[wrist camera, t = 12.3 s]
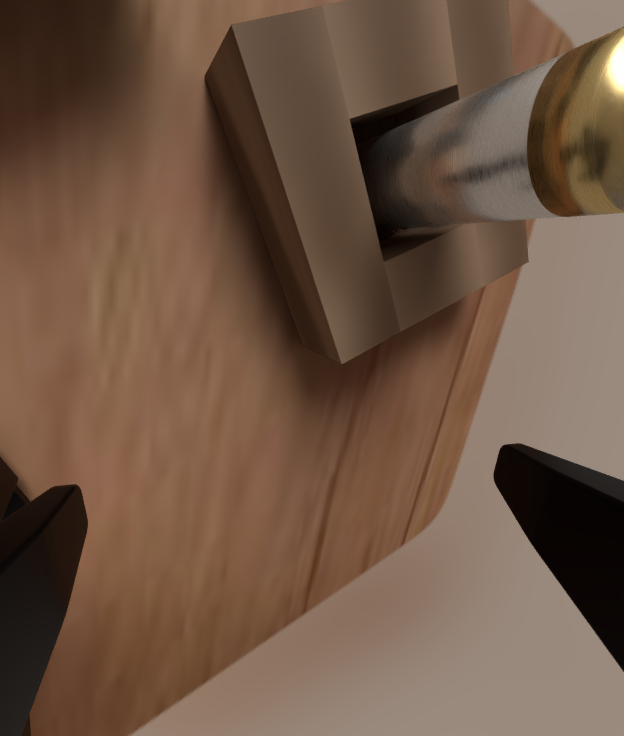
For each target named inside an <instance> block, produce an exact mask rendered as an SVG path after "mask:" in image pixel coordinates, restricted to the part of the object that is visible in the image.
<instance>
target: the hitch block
mask: <svg viewBox="0 0 624 736" xmlns="http://www.w3.org/2000/svg"><path fill="white" fill-rule="evenodd" d="M513 76H514V69H513V56H512V43H511V31H510V18H509V5H508V0H348V1H343V2H338V3H333V4H329V5H324V6H319V7H314V8H309V9H305V10H300V11H295V12H290V13H285V14H280V15H276V16H271V17H266V18H261V19H256V20H251V21H247V22H242V23H237V24H232V25H231V26H230V28H229V30H228V32H227V34H226V36H225V38H224V40H223V42H222V44H221V46H220V47H219V49H218V51H217V53H216V55H215V57H214V59H213V61H212V63H211V65H210V67H209V69H208V70H207V72H206V74H205V79H206V82H207V84H208V87H209V90H210V93H211V95H212V98H213V101H214V104H215V106H216V109H217V112H218V115H219V117H220V120H221V123H222V125H223V128H224V131H225V134H226V136H227V139H228V142H229V145H230V147H231V150H232V153H233V156H234V158H235V161H236V164H237V167H238V169H239V172H240V175H241V177H242V180H243V183H244V186H245V188H246V191H247V194H248V197H249V199H250V202H251V205H252V208H253V210H254V213H255V216H256V219H257V221H258V224H259V227H260V229H261V232H262V235H263V238H264V240H265V243H266V246H267V249H268V251H269V254H270V257H271V260H272V262H273V265H274V268H275V271H276V273H277V276H278V279H279V281H280V284H281V287H282V290H283V292H284V295H285V298H286V301H287V303H288V306H289V309H290V312H291V314H292V317H293V320H294V323H295V325H296V328H297V331H298V333H299V336H300V339H301V342H302V344H303V346H305V347H307V348H309V349H311V350H314V351H316V352H318V353H320V354H322V355H324V356H326V357H328V358H330V359H332V360H334V361H336V362H338V363H340V364H344V363H345V362H347V361H349V360H351V359H353V358H355V357H356V356H358V355H360V354H362V353H364V352H365V351H367V350H369V349H371V348H373V347H375V346H376V345H378V344H380V343H382V342H384V341H385V340H387V339H389V338H391V337H393V336H395V335H396V334H398V333H400V332H402V331H404V330H405V329H407V328H409V327H411V326H413V325H415V324H416V323H418V322H420V321H422V320H424V319H425V318H427V317H429V316H431V315H433V314H435V313H436V312H438V311H440V310H442V309H444V308H446V307H447V306H449V305H451V304H453V303H455V302H456V301H458V300H460V299H462V298H464V297H466V296H467V295H469V294H471V293H473V292H475V291H476V290H478V289H480V288H482V287H484V286H486V285H487V284H489V283H491V282H493V281H495V280H496V279H498V278H500V277H502V276H504V275H506V274H507V273H509V272H511V271H513V270H515V269H516V268H518V267H520V266H522V265H524V264H525V263H527V262H529V261H528V248H527V235H526V223H525V219H524V220H511V221H498V222H485V223H472V224H459V225H446V226H432V227H419V228H408V229H406V230H404V231H401V232H399V233H397V234H395V235H393V236H390V237H388V238H386V239H384V240H381V241H379V240H378V236H377V232H376V227H375V223H374V219H373V215H372V211H371V207H370V202H369V198H368V194H367V190H366V186H365V182H364V177H363V173H362V169H361V165H360V161H359V157H358V152H357V148H356V144H355V140H354V136H353V132H352V129H353V128H356V127H359V126H362V125H365V124H368V123H371V122H374V121H377V120H380V119H383V118H386V117H389V116H392V115H395V114H396V119H397V125H398V127H399V126H401V125H403V124H406V123H408V122H410V121H413V120H415V119H417V118H419V117H422V116H424V115H426V114H428V113H431V112H433V111H435V110H438V109H440V108H442V107H444V106H447V105H449V104H451V103H454V102H456V101H458V100H460V99H463V98H465V97H467V96H469V95H472V94H474V93H476V92H479V91H481V90H483V89H485V88H488V87H490V86H492V85H494V84H497V83H499V82H501V81H504V80H506V79H508V78H510V77H513Z"/></svg>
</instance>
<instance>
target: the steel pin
mask: <svg viewBox="0 0 624 736" xmlns="http://www.w3.org/2000/svg"><path fill="white" fill-rule="evenodd" d="M356 148H357V152H358V157H359V161H360V165H361V169H362V173H363V177H364V182H365V186H366V190H367V194H368V198H369V202H370V207H371V211H372V215H373V219H374V223H375V227H376V231H380V230H393V229H406V228H419V227H432V226H446V225H459V224H472V223H485V222H498V221H511V220H524V219H537V218H550V217H572V216H586V215H600V214H613V213H624V27H622V28H619V29H617V30H615V31H613V32H610V33H608V34H606V35H604V36H601V37H599V38H597V39H595V40H593V41H590V42H588V43H585V44H583V45H581V46H579V47H576V48H574V49H572V50H570V51H568V52H567V53H565V54H563V55H560V56H558V57H556V58H554V59H551V60H549V61H547V62H545V63H542V64H540V65H538V66H535V67H533V68H531V69H529V70H526V71H524V72H522V73H519V74H517V75H515V76H513V77H510V78H508V79H506V80H504V81H501V82H499V83H497V84H494V85H492V86H490V87H488V88H485V89H483V90H481V91H479V92H476V93H474V94H472V95H469V96H467V97H465V98H463V99H460V100H458V101H456V102H454V103H451V104H449V105H447V106H444V107H442V108H440V109H438V110H435V111H433V112H431V113H428V114H426V115H424V116H422V117H419V118H417V119H415V120H413V121H410V122H408V123H406V124H403V125H401V126H399V127H397V128H394V129H392V130H390V131H388V132H385V133H383V134H381V135H378V136H376V137H374V138H372V139H369V140H367V141H365V142H363V143H360V144H358V145H356Z"/></svg>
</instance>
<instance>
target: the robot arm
mask: <svg viewBox="0 0 624 736" xmlns="http://www.w3.org/2000/svg"><path fill="white" fill-rule="evenodd" d="M17 481H18V478H17V476H16V475H15V474H14V473H13V471H12V470H11V469H10V468H9V467H8V466H7V464H6V463H5V462H4V461H3V460H2V459H1V457H0V736H31V732H30V719H29V713H30V711H31V708H32V705H33V703H34V700H35V697H36V695H37V692H38V689H39V686H40V684H41V681H42V678H43V676H44V673H45V670H46V668H47V665H48V662H49V659H50V657H51V654H52V651H53V649H54V646H55V643H56V641H57V638H58V635H59V632H60V630H61V627H62V624H63V621H64V618H65V615H66V612H67V608H68V605H69V601H70V597H71V593H72V589H73V585H74V581H75V577H76V573H77V569H78V565H79V561H80V557H81V553H82V549H83V546H84V542H85V538H86V534H87V528H88V519H87V514H86V510H85V505H84V500H83V496H82V492H81V489H80V487H79V486H78V485H76V484H73V485H62V486H54V487H52V488H50V489H49V490H47V491H46V492H44V493H43V494H41V495H40V496H38V497H37V498H35V499H34V500H32V501H31V502H30V501H29V499H28V498H27V497H26V496H25V495H24V494H23V493H22V491H21V490H20V489H19V488H18V487H17V486H16V484H17ZM494 482H495V484H496V486H497V488H498V489H499V491H500V493H501V494H502V496H503V498H504V500H505V501H506V503H507V505H508V506H509V508H510V509H511V511H512V513H513V515H514V516H515V518H516V520H517V521H518V523H519V525H520V526H521V528H522V530H523V531H524V533H525V535H526V536H527V538H528V539H529V541H530V542H531V544H532V545H533V547H534V548H535V550H536V551H537V552H538V554H539V555H540V557H541V558H542V560H543V561H544V562H545V564H546V565H547V566H548V568H549V569H550V571H551V572H552V573H553V575H554V576H555V578H556V579H557V580H558V581H559V583H560V584H561V586H562V587H563V589H564V590H565V591H566V593H567V594H568V595H569V597H570V598H571V600H572V601H573V602H574V604H575V605H576V607H577V608H578V609H579V611H580V612H581V614H582V615H583V616H584V618H585V619H586V620H587V622H588V623H589V625H590V626H591V627H592V629H593V630H594V631H595V633H596V634H597V636H598V637H599V638H600V640H601V641H602V643H603V644H604V645H605V647H606V648H607V649H608V651H609V652H610V654H611V655H612V656H613V658H614V659H615V660H616V662H617V663H618V665H619V666H620V668H621V669H622V670H623V672H624V481H622V480H620V479H617V478H614V477H611V476H609V475H606V474H603V473H601V472H598V471H595V470H592V469H590V468H587V467H584V466H581V465H579V464H575V463H573V462H570V461H568V460H565V459H562V458H559V457H556V456H554V455H551V454H548V453H545V452H543V451H540V450H537V449H534V448H532V447H529V446H526V445H523V444H518V443H517V444H507V445H503V446H502V447H501V448H500V451H499V454H498V458H497V462H496V466H495V470H494ZM14 512H15V513H14Z"/></svg>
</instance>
